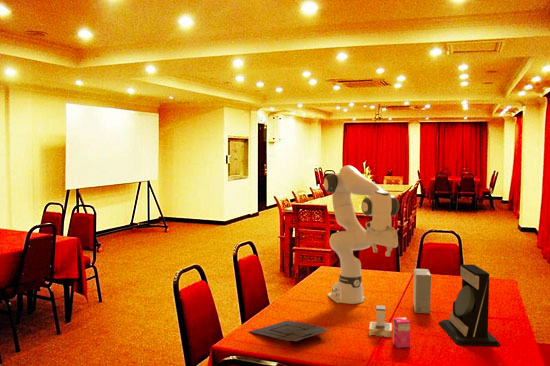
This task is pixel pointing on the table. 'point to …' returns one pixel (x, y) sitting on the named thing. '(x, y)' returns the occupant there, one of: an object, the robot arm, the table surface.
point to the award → (471, 310)
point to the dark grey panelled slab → (290, 330)
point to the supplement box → (401, 332)
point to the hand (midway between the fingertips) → (381, 254)
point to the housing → (380, 316)
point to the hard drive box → (422, 291)
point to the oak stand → (380, 330)
